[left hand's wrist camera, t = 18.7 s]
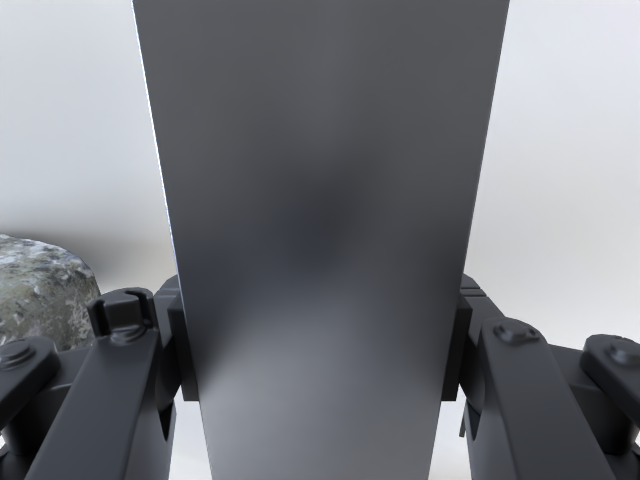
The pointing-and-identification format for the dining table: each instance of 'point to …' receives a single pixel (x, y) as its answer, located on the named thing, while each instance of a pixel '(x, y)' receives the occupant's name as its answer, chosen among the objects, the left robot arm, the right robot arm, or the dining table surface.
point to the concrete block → (44, 294)
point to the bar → (320, 217)
